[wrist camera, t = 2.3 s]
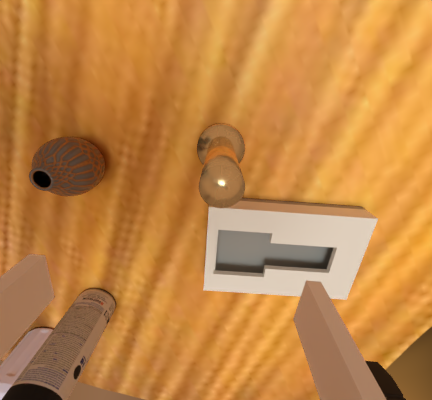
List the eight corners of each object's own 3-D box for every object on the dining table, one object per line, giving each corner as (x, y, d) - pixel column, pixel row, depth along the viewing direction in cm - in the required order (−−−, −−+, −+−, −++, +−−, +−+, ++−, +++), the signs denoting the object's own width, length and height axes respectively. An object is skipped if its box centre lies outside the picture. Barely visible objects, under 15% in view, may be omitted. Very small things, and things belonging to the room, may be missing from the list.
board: (210, 195, 33) (208, 207, 29) (361, 206, 33) (378, 218, 30) (205, 273, 38) (203, 290, 35) (335, 281, 39) (346, 299, 35)
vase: (50, 144, 30) (-11, 159, 22) (95, 125, 29) (48, 134, 21) (79, 190, 33) (34, 218, 25) (121, 174, 32) (88, 198, 24)
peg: (199, 121, 29) (179, 140, 15) (246, 125, 29) (271, 147, 15) (197, 167, 31) (178, 222, 17) (240, 170, 31) (258, 227, 17)
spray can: (94, 318, 43) (1, 480, 25) (70, 294, 41) (-52, 451, 22) (123, 307, 42) (48, 468, 24) (101, 281, 40) (-2, 437, 21)
